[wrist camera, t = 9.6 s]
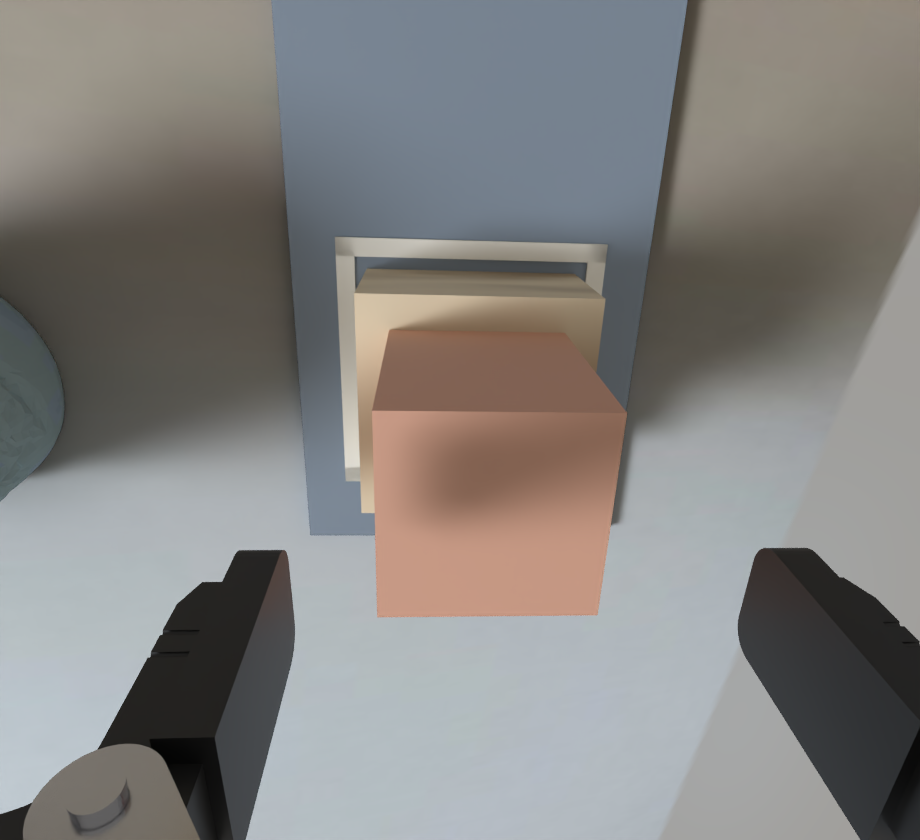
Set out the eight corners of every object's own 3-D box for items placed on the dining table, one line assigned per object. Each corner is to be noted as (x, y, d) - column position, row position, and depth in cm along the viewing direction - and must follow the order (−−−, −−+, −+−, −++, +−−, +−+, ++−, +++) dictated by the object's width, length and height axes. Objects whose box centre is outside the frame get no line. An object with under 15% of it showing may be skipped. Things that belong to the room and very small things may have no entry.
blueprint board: (252, -332, 15) (245, -353, 15) (723, -294, 16) (735, -312, 15) (312, 526, 25) (309, 536, 25) (603, 527, 26) (608, 536, 25)
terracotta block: (389, 330, 17) (371, 410, 12) (564, 332, 18) (626, 412, 12) (391, 485, 19) (377, 617, 14) (549, 486, 20) (597, 615, 14)
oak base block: (366, 268, 21) (354, 293, 17) (574, 273, 21) (605, 298, 17) (371, 456, 23) (361, 513, 20) (555, 458, 24) (578, 513, 20)
